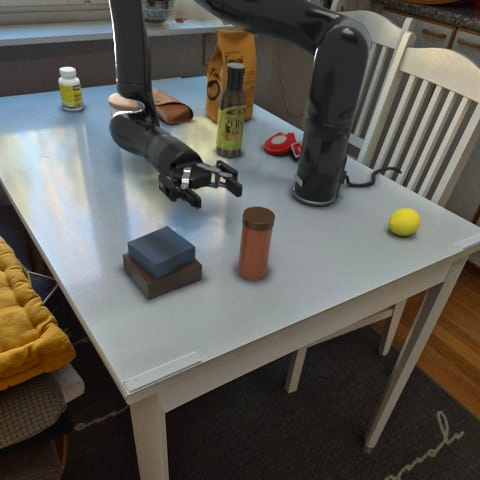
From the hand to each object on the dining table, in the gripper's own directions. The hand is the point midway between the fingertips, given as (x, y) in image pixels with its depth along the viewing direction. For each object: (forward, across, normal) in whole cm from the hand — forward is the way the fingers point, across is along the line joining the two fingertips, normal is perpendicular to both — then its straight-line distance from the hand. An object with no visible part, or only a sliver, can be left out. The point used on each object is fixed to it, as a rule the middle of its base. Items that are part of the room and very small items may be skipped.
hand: (220, 198), depth 82 cm
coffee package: (-50, +36, +9) cm, 62 cm away
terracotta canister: (+10, 0, +9) cm, 14 cm away
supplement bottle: (-73, 0, +9) cm, 73 cm away
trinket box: (-53, +8, +9) cm, 54 cm away
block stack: (+3, -14, +9) cm, 17 cm away
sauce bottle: (-30, +23, +9) cm, 40 cm away
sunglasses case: (-60, +22, +9) cm, 65 cm away
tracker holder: (-24, +36, +9) cm, 45 cm away
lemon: (+15, +34, +10) cm, 39 cm away
